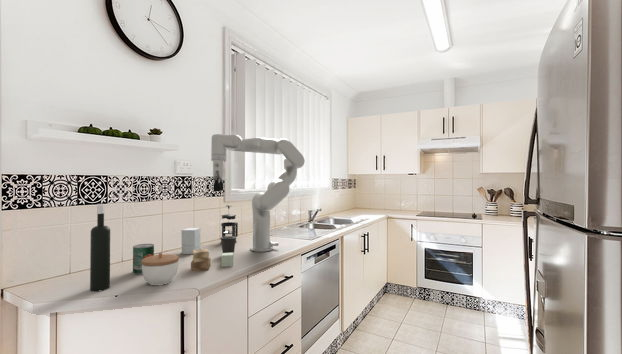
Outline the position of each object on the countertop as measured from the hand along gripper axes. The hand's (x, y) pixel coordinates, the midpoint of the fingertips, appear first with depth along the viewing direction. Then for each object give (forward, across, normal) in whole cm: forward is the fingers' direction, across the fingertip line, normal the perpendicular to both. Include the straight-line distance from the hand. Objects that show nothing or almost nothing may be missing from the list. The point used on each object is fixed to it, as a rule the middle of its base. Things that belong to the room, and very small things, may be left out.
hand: (218, 190), depth 158 cm
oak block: (+29, -26, +3) cm, 39 cm away
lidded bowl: (+33, -42, +14) cm, 56 cm away
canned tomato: (+33, -27, +26) cm, 50 cm away
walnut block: (+33, -26, +3) cm, 42 cm away
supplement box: (+33, +6, +15) cm, 37 cm away
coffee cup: (+33, -4, -6) cm, 34 cm away
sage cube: (+33, -21, -8) cm, 40 cm away
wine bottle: (+34, -46, +33) cm, 66 cm away
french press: (+33, +30, -2) cm, 44 cm away
